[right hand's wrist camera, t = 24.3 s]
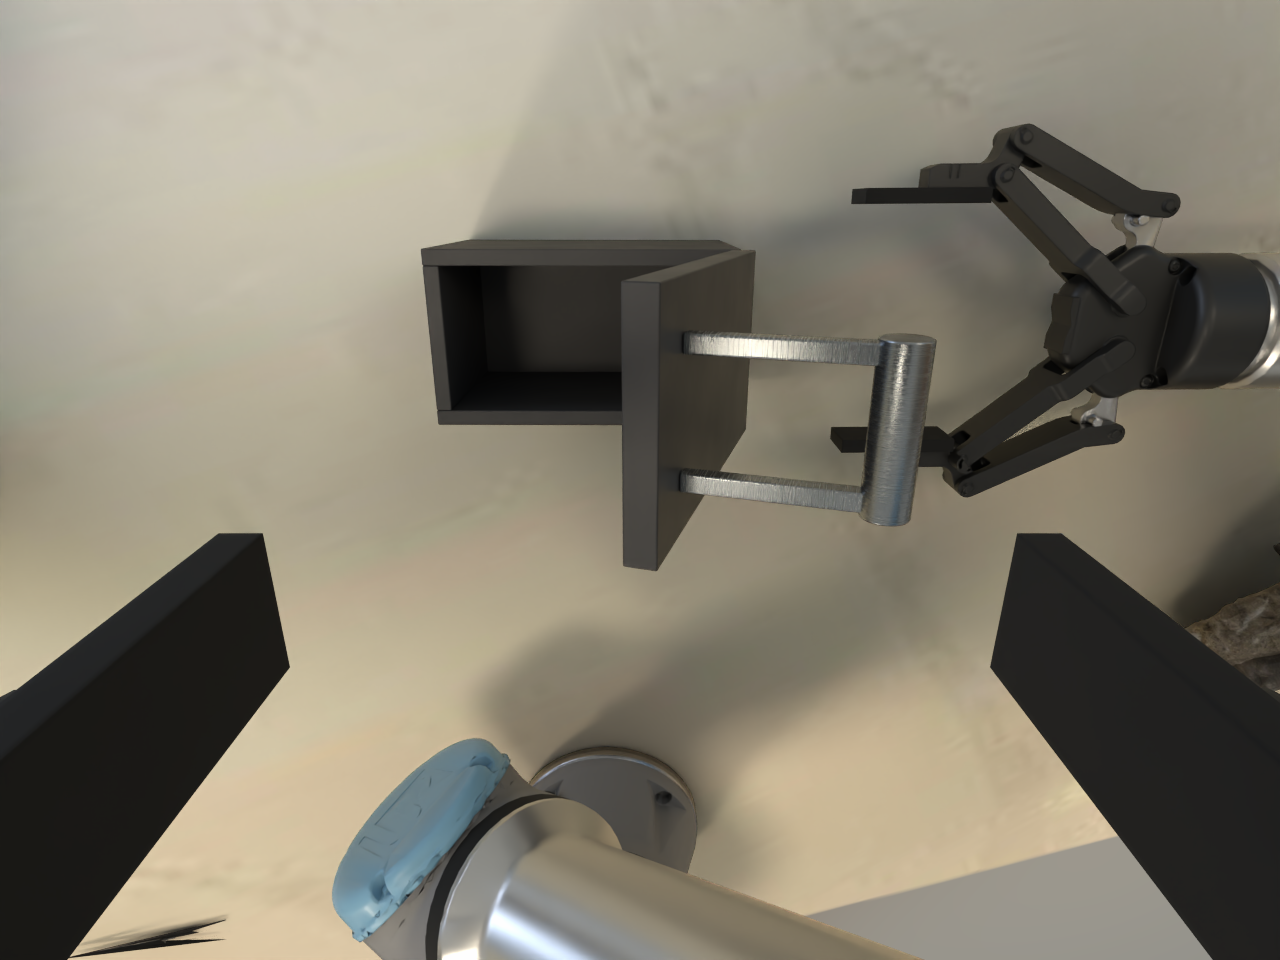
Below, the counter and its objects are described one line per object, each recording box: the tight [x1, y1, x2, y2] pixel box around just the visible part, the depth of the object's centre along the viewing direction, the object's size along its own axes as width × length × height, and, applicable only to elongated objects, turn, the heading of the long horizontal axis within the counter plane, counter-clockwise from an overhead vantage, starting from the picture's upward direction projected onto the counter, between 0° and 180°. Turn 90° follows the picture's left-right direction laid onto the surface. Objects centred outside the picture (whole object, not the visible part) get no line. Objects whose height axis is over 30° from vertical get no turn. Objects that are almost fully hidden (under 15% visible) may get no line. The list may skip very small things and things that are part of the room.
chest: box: [421, 240, 741, 425], centre depth 43 cm, size 16×9×11 cm, turn 90°
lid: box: [621, 250, 936, 571], centre depth 28 cm, size 17×9×9 cm
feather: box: [69, 920, 225, 958], centre depth 68 cm, size 2×28×2 cm
